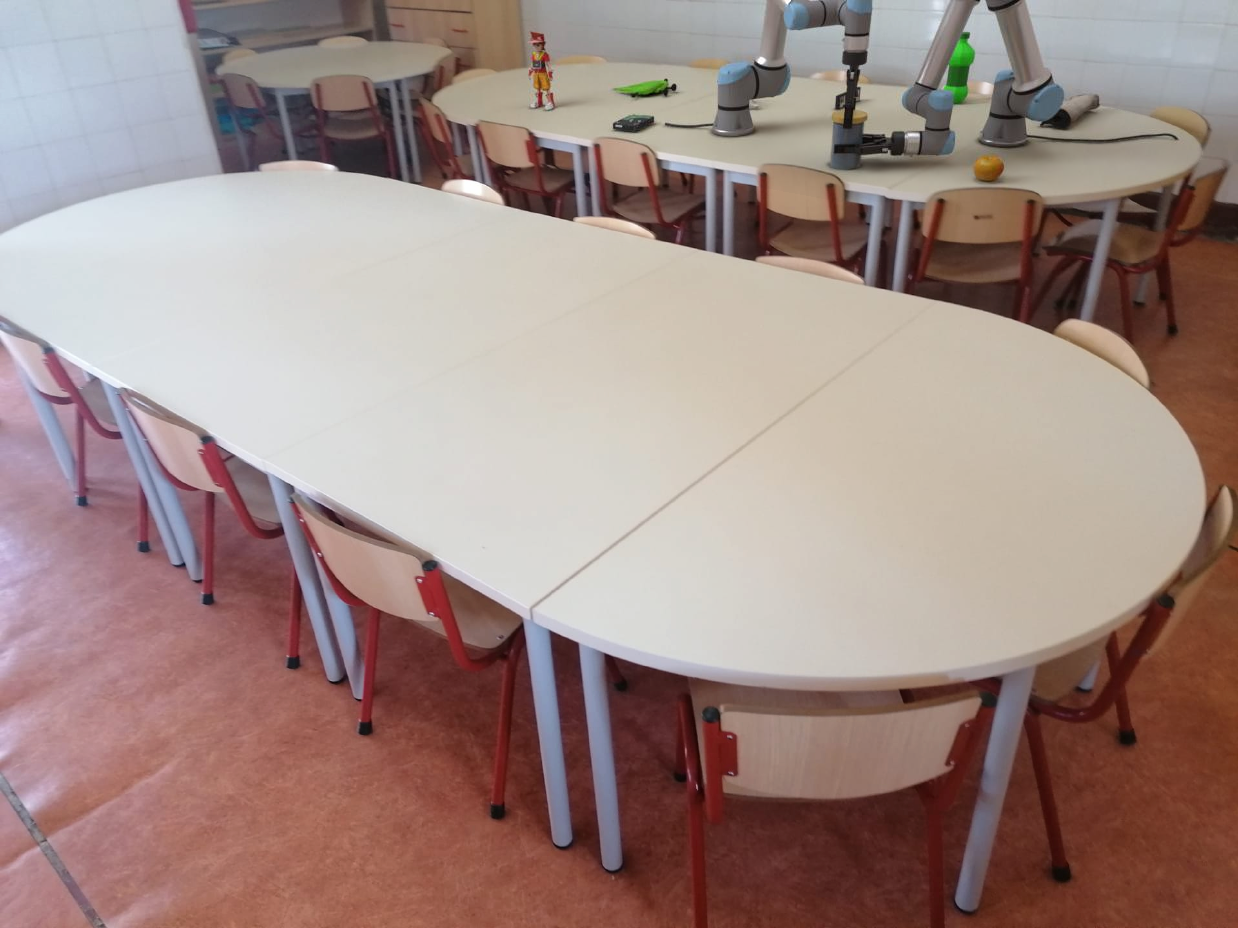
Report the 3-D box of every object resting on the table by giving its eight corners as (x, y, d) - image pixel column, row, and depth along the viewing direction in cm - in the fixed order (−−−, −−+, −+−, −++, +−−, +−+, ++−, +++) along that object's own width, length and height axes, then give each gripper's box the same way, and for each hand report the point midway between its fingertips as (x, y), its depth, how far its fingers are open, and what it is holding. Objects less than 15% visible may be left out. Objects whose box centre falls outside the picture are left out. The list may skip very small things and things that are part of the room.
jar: (836, 170, 291) (841, 122, 283) (825, 162, 299) (828, 115, 291) (865, 167, 293) (870, 119, 284) (852, 159, 301) (857, 112, 292)
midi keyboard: (837, 109, 354) (838, 96, 352) (834, 109, 355) (835, 95, 352) (859, 100, 365) (861, 87, 362) (857, 99, 366) (858, 86, 363)
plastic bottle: (973, 101, 354) (984, 32, 339) (955, 106, 349) (966, 36, 335) (952, 97, 361) (962, 29, 346) (934, 102, 356) (944, 33, 342)
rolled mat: (1067, 99, 337) (1091, 81, 329) (1080, 119, 338) (1105, 102, 330) (1036, 120, 320) (1061, 102, 312) (1050, 141, 321) (1075, 124, 312)
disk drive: (635, 133, 342) (654, 123, 352) (635, 125, 340) (654, 115, 350) (612, 130, 346) (632, 120, 356) (612, 123, 345) (631, 113, 355)
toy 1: (525, 109, 381) (517, 32, 364) (534, 104, 388) (527, 28, 371) (550, 110, 377) (543, 32, 360) (559, 105, 384) (553, 28, 367)
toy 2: (686, 85, 398) (631, 84, 414) (685, 72, 395) (629, 72, 411) (651, 104, 381) (596, 103, 397) (650, 92, 378) (594, 91, 394)
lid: (852, 126, 281) (853, 120, 280) (823, 120, 288) (824, 115, 288) (874, 118, 287) (875, 113, 286) (845, 113, 294) (845, 108, 293)
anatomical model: (725, 81, 368) (749, 74, 367) (729, 106, 374) (753, 100, 373) (732, 89, 356) (756, 82, 355) (736, 115, 362) (760, 109, 361)
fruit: (968, 171, 273) (986, 147, 270) (968, 173, 280) (985, 150, 277) (991, 186, 271) (1009, 163, 268) (990, 188, 279) (1008, 165, 276)
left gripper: (845, 42, 286) (839, 114, 299) (839, 58, 268) (833, 133, 280) (870, 42, 284) (863, 114, 297) (865, 58, 266) (858, 133, 278)
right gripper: (906, 165, 283) (834, 166, 286) (898, 145, 301) (830, 146, 304) (909, 141, 278) (836, 142, 282) (901, 122, 297) (832, 123, 300)
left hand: (848, 123), depth 289 cm, fingers closed on lid, 11 cm apart
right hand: (833, 144), depth 293 cm, fingers closed on jar, 10 cm apart
